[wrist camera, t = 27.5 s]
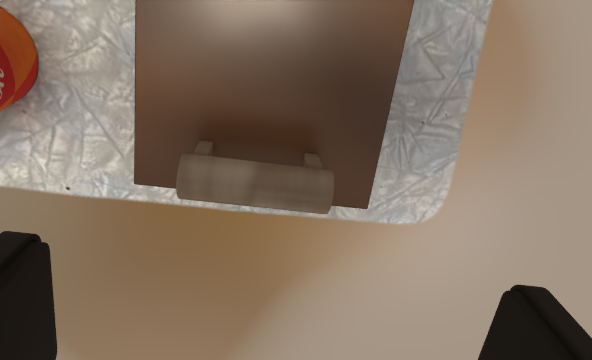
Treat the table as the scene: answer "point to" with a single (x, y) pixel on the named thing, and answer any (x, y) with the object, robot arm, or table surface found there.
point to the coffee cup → (15, 60)
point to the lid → (265, 98)
